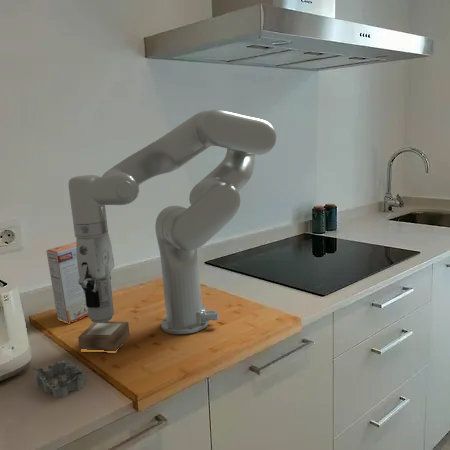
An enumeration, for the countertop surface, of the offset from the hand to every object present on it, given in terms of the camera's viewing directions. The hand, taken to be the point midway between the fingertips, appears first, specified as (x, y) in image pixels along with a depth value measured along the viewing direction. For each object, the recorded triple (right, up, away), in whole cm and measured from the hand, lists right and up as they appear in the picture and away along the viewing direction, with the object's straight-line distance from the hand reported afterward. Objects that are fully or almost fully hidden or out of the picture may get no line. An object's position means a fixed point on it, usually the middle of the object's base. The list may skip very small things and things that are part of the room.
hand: (99, 300), depth 115 cm
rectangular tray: (+1, -11, +2) cm, 11 cm away
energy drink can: (0, -5, +1) cm, 5 cm away
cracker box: (-11, -8, +23) cm, 26 cm away
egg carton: (-4, -16, -15) cm, 22 cm away
